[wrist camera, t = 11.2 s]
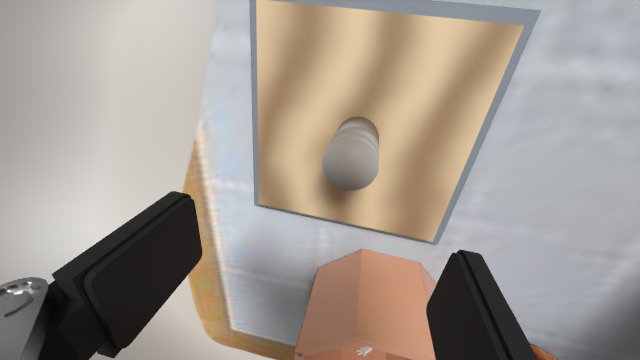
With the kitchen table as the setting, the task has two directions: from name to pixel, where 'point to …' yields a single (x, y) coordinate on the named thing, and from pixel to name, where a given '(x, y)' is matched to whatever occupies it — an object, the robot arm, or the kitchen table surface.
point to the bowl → (368, 310)
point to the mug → (542, 354)
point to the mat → (421, 3)
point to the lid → (371, 110)
